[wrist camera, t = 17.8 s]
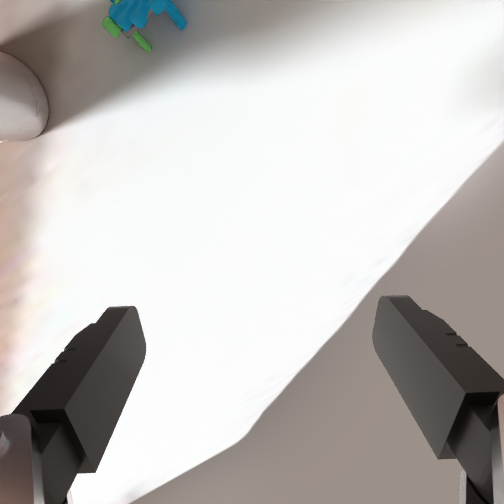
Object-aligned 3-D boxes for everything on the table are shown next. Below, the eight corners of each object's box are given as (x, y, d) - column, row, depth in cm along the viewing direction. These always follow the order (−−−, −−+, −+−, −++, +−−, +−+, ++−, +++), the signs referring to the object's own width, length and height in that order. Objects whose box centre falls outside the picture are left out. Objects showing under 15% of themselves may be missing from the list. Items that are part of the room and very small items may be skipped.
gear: (166, -108, 24) (194, -56, 21) (206, -35, 30) (234, 17, 26) (89, -11, 28) (102, 47, 25) (137, 38, 33) (153, 92, 30)
